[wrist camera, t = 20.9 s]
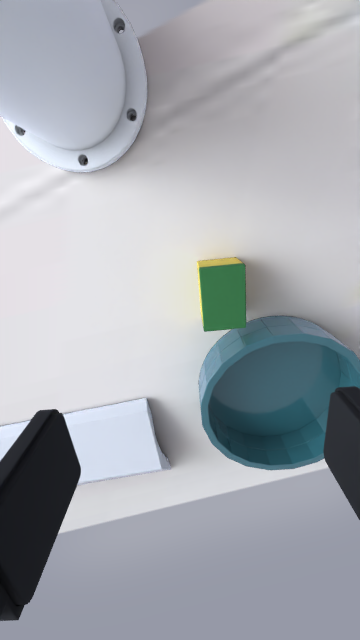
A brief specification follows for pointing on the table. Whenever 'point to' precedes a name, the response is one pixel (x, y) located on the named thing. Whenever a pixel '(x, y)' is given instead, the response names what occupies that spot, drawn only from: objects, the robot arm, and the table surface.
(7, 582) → the robot arm
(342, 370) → the bowl
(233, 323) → the sponge
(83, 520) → the table surface
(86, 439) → the crown molding
